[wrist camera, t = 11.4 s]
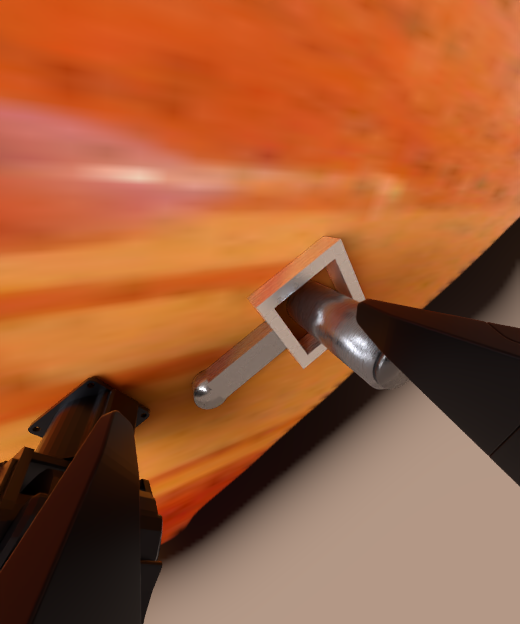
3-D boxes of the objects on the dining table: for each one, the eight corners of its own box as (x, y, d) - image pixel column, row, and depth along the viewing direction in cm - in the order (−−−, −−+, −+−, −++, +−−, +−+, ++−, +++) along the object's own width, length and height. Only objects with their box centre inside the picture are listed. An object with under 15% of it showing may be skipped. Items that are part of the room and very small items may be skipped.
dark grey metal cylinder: (298, 329, 25) (384, 405, 15) (278, 300, 23) (364, 367, 13) (330, 303, 25) (435, 361, 16) (314, 271, 23) (424, 316, 13)
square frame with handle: (223, 413, 26) (228, 431, 24) (161, 367, 21) (161, 384, 19) (354, 304, 27) (370, 312, 25) (323, 236, 22) (340, 238, 20)
